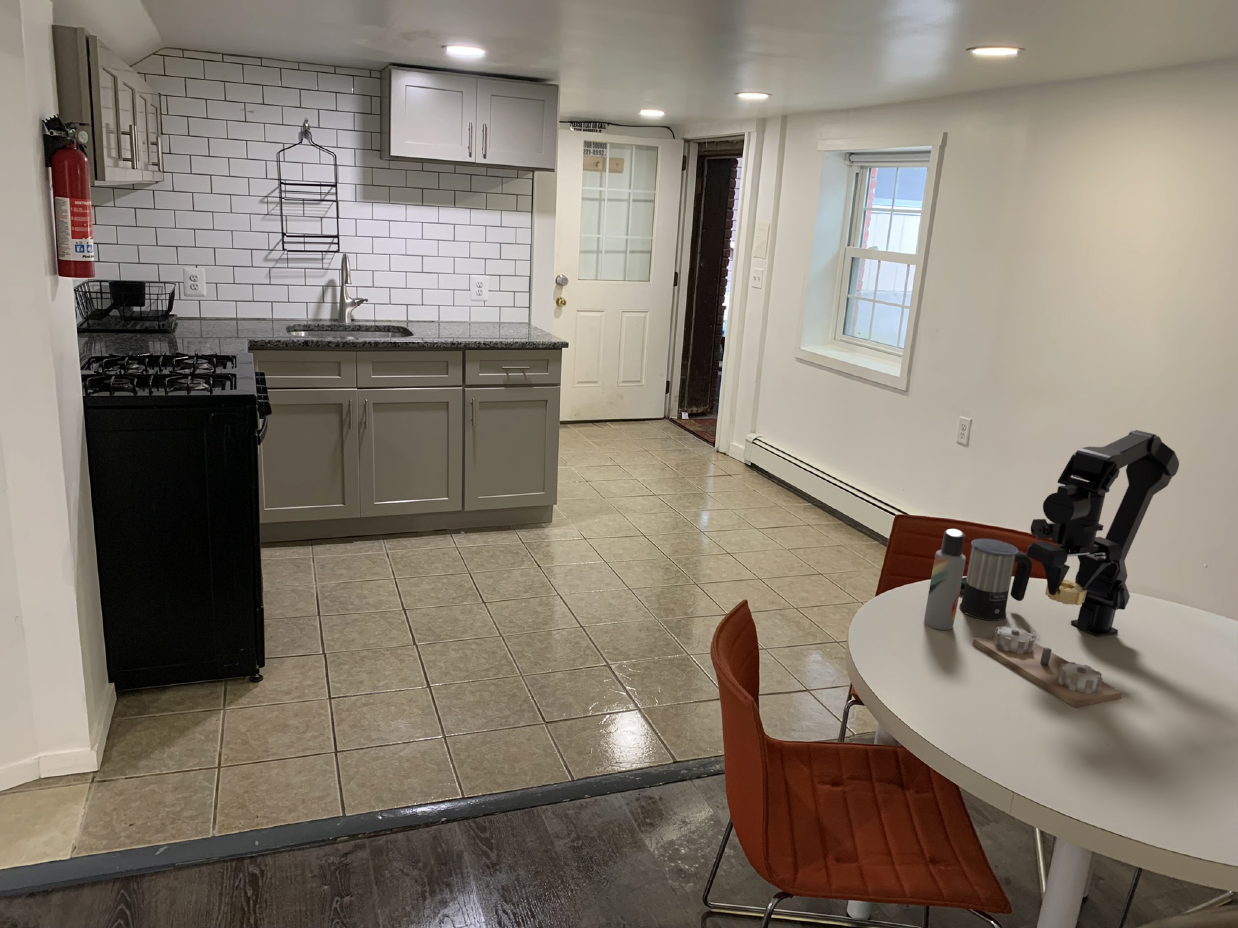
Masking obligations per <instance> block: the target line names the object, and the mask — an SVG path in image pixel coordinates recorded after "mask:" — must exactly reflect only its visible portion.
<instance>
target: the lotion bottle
mask: <svg viewBox="0 0 1238 928" xmlns="http://www.w3.org/2000/svg"><path fill="white" fill-rule="evenodd" d="M965 539H966V534H965V533H964V532H963V531H962V530H960V529H957V528H949V529H945V530H944V532H943V538H942V542H941V543H942V544H941V549H939V550H937V551H935V555H934V561H933V566H932V571H931V577H930V583H929V589H928V594H927V600H926V605H925V606H926V607H925V610H924V618H923V622H924V624H925V625H926V626H927V627H929V628H932V629H935V630H939V631H949V630H951V629H953V627H954V624H955V619H956V614H957V608H958V605H959V603H958V602H959V598H960V594H959V593H960V588H961V583H962V578H964V571H965V566H966V560H967V557H966V555H964V554H963V551H964V550H963V549H964V545H965V544H964V543H965Z"/></svg>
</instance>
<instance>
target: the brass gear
mask: <svg viewBox="0 0 1238 928" xmlns="http://www.w3.org/2000/svg"><path fill="white" fill-rule="evenodd" d="M1086 592H1087V589H1085V588H1084V587H1083V586H1082V585H1080V584H1078V583H1075V582H1074V581H1071V580H1069V579H1064V580H1063V582H1062V583H1061V585H1060V587H1059V589H1058V591H1057V592H1056V594H1055V595H1051V594H1049V590H1048V584H1047V583H1046V588H1045V596H1047V597H1048V598H1049V599H1050V600H1052V601H1056V602H1058V603H1061V604H1063V605H1071V606H1074V605H1076V606H1081V605H1082V602H1083V603H1084V601H1085V597H1086Z"/></svg>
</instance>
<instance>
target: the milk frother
mask: <svg viewBox="0 0 1238 928" xmlns="http://www.w3.org/2000/svg"><path fill="white" fill-rule="evenodd" d="M970 545H971V550H970V556H969V561H968V568H967V573H966V577H962V583H961V588H960V593H959V596H962V599H961V602H960V604H959V609H960V611H962V612H963V613H964V614H966V615H968V616H971V617H972V618H975V619H979V620H984V621H1001V620H1003V619H1005V618H1006V616H1007V612H1006V611H1007V604H1008V599H1009V593H1010V597H1012V598H1013V600H1015V601H1016V602H1021V601H1023V600H1024V598H1025V594H1026V591H1027V589H1028V584H1029V580H1030V576H1031V573H1032V569H1033V562H1032V558H1030V557H1028V556H1027V555H1026V554H1027V553H1024V552H1023V551H1021V550H1019V549H1018V548H1017V547H1016V546H1014V545H1013V544H1010V543H1008V542H1005V541H1002V540H998V539H993V538H976V539H973V540H971V542H970ZM1015 563H1017V564H1016V569H1015V572H1014V577H1013V581H1012V576H1013V571H1014V565H1015ZM1011 581H1012V583H1011ZM1011 584H1012V585H1011ZM1010 587H1011V589H1010Z"/></svg>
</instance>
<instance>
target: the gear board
mask: <svg viewBox="0 0 1238 928" xmlns="http://www.w3.org/2000/svg"><path fill="white" fill-rule="evenodd" d="M1034 637H1035V636H1034V634H1033V633H1030V632H1028V631H1026V629H1024V628H1021V627H1016V626H1011V625H1004V626H997V627H996V629H995V633H994V634H993V635H989V636H982V637H975V638H973V640H972V645H973V646H975V647H976V648H978V649H979V650H981V651H983V652H984V653H986V654H988V655H990V656H991V657H993V658H994V659H996V660H997V661H999V662H1001V663H1002V664H1004V665H1005V666H1007V667H1009V668H1010V669H1012V670H1014V671H1015V672H1016V673H1018V674H1020V675H1021V676H1023V677H1025V678H1026V679H1028V680H1030V681H1031V682H1033V683H1035V684H1036V685H1037V686H1039V687H1041V688H1043V689H1044V690H1046V691H1047V692H1049V693H1050V694H1052V695H1054V696H1055V697H1058V698H1059V699H1061V701H1064V702H1065V703H1067V704H1068V705H1070V706H1072V707H1073V708H1075V707H1076V708H1080V707H1085V705H1086V706H1090V704H1091V705H1096V704H1099V703H1100V702H1101V703H1104V702H1105V701H1106V702H1109V701H1110V702H1111V701H1114V700H1120V699H1121V698H1122V694H1123V692H1122V691H1120V690H1118V689H1117V688H1115V687H1113V686H1112V685H1110V684H1108V683H1106V682H1105V681H1103V680H1104V679H1103V677H1102V673H1101V672H1100V671H1097V670H1095V669H1094V668H1092V666H1089V665H1087V664H1080V663H1077V662H1073V661H1068V660H1066V659H1065V658H1063V657H1061V656H1060V655H1057V654H1055V653H1054V652H1052V649H1051V648H1049V647H1043V646H1041V645H1040V644H1038V643H1037V642H1034V641H1035V639H1034Z"/></svg>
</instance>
